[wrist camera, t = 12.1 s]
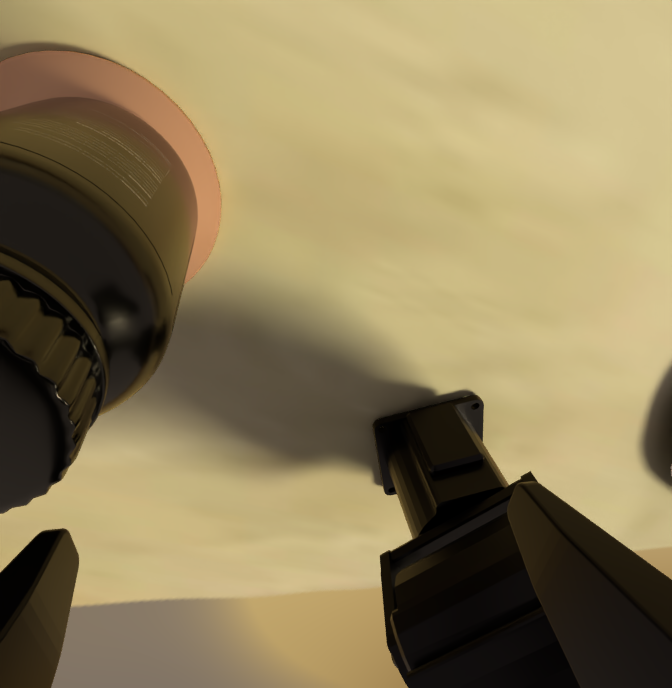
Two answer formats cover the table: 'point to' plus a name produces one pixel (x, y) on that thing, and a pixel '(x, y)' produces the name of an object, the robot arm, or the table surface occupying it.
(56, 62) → the peach domed disc
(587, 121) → the table surface
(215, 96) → the table surface
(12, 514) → the table surface
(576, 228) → the table surface
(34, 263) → the supplement bottle
